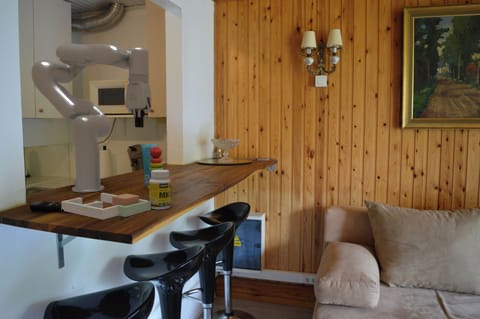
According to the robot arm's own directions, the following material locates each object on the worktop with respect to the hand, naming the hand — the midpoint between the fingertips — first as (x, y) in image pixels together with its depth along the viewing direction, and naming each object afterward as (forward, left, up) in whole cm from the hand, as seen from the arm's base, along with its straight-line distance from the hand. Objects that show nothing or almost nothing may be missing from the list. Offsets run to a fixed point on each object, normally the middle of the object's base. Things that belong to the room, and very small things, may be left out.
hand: (139, 127), depth 145 cm
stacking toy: (-2, +12, -27) cm, 30 cm away
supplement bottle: (+22, -12, -27) cm, 37 cm away
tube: (-12, +18, -27) cm, 35 cm away
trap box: (+10, -25, -27) cm, 38 cm away
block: (+16, -22, -27) cm, 38 cm away
